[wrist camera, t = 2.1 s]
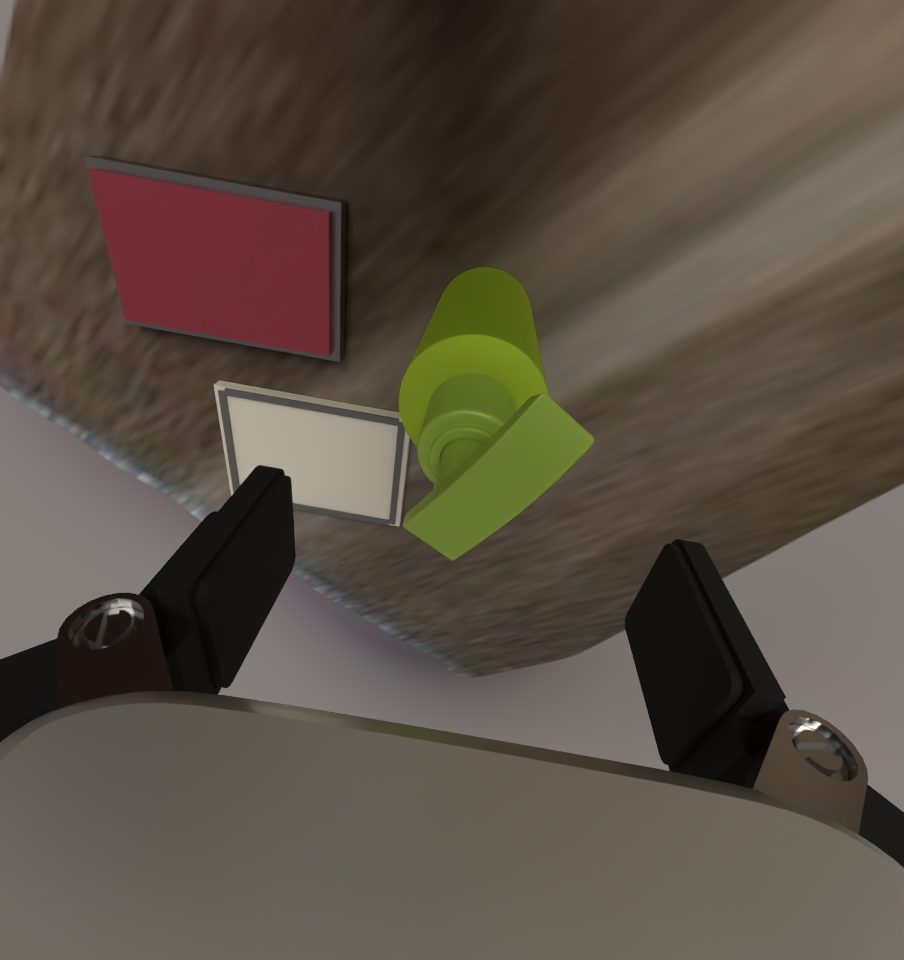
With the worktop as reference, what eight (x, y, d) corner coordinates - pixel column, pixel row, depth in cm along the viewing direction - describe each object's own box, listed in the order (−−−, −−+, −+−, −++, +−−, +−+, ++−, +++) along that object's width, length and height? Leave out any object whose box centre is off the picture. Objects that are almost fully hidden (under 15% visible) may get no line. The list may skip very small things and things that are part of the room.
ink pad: (99, 155, 26) (74, 155, 24) (347, 201, 26) (338, 203, 24) (138, 318, 31) (119, 326, 29) (344, 355, 31) (336, 365, 30)
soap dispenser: (564, 300, 28) (653, 499, 11) (486, 380, 31) (467, 623, 15) (493, 228, 26) (477, 340, 10) (418, 321, 29) (310, 523, 13)
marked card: (219, 380, 33) (212, 385, 32) (412, 414, 33) (410, 421, 32) (235, 491, 39) (230, 498, 38) (400, 520, 39) (398, 528, 38)
